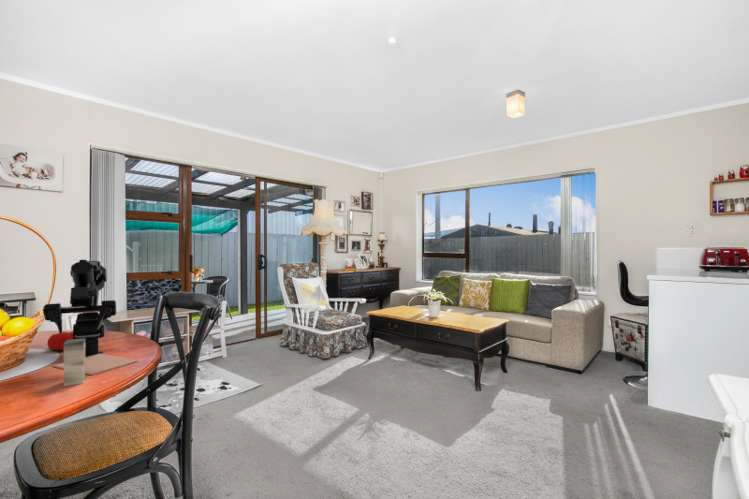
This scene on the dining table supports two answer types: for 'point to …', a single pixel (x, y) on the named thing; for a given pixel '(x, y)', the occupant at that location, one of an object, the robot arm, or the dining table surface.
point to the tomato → (59, 340)
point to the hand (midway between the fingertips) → (79, 331)
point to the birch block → (74, 362)
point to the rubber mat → (102, 363)
